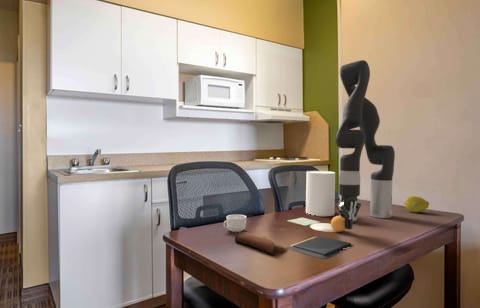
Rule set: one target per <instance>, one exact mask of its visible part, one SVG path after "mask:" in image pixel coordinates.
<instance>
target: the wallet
mask: <svg viewBox="0 0 480 308" xmlns="http://www.w3.org/2000/svg"><path fill="white" fill-rule="evenodd" d="M352 246H353V247H354V244H352V243H351V242H347V241H344V240H340V239H335V238H332V237H327V236H323V235H318V236H317V235H316V236H313V237H310V238H307V239H304V240H301V241H300V242H297V243H294V244H292V245H289V246H285V248H286V249H288V250H289V251H290V250H291V251H292V252H297V253H298V254H299V253H300V254H302V255H305V256H310V257H313V258H317V259H320V260H324V259H326V260H328V259H330V258H332V257H334V256H336V255H338V254H340V253H341V252H340V251H342V252H344V251H346V249H343V248H347V247H351V248H353V247H352ZM343 250H344V251H343ZM337 253H338V254H337ZM327 258H328V259H327Z"/></svg>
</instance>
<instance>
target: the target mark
mask: <svg viewBox="0 0 480 308" xmlns="http://www.w3.org/2000/svg"><path fill="white" fill-rule="evenodd" d="M309 227H310V229H311V230H314V231H317V232H325V233H337V232H338V231H335V230H334V229H333V228H332V226H331V223H327V222H326V223H325V222H320V223H316V224H311V225H309ZM338 233H339V232H338Z"/></svg>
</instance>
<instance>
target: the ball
mask: <svg viewBox="0 0 480 308" xmlns="http://www.w3.org/2000/svg"><path fill="white" fill-rule="evenodd" d="M330 224H331V226H332V228H333V229H334V230H335V231H338V233H341V232H344V231H345V230H347V229H346V228H345V219H344V218H342V217H341V216H339V215H336V216H335V215H334V217H332V219H331V221H330Z"/></svg>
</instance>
